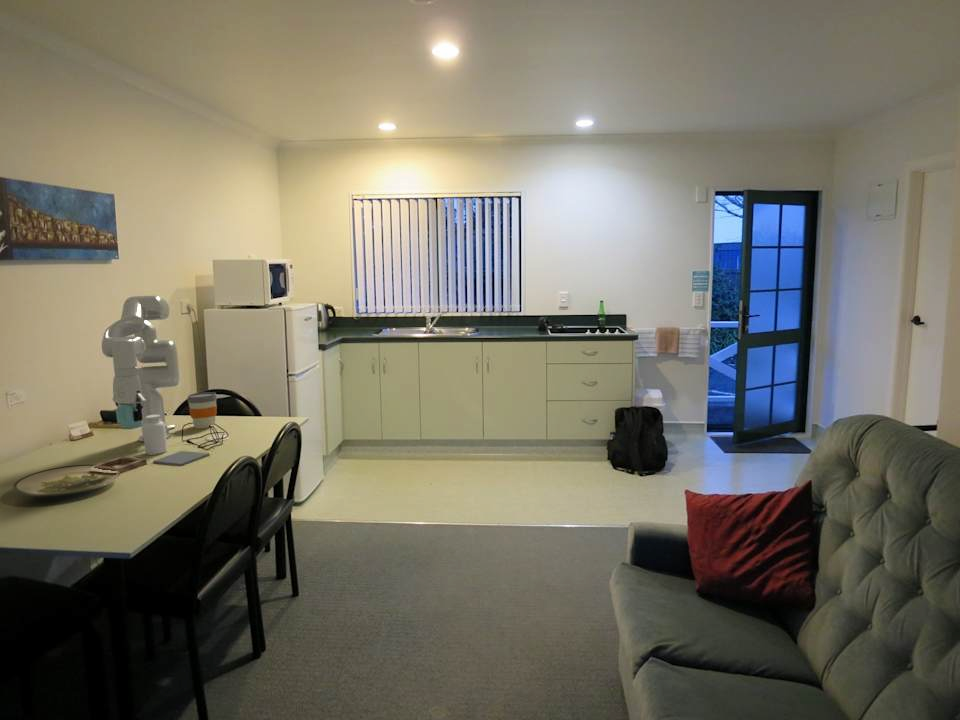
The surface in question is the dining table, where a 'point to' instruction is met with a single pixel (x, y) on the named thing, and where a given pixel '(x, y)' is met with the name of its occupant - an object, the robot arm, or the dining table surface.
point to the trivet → (181, 458)
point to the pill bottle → (154, 435)
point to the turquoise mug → (127, 417)
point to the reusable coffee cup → (203, 409)
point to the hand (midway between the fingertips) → (131, 419)
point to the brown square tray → (129, 462)
